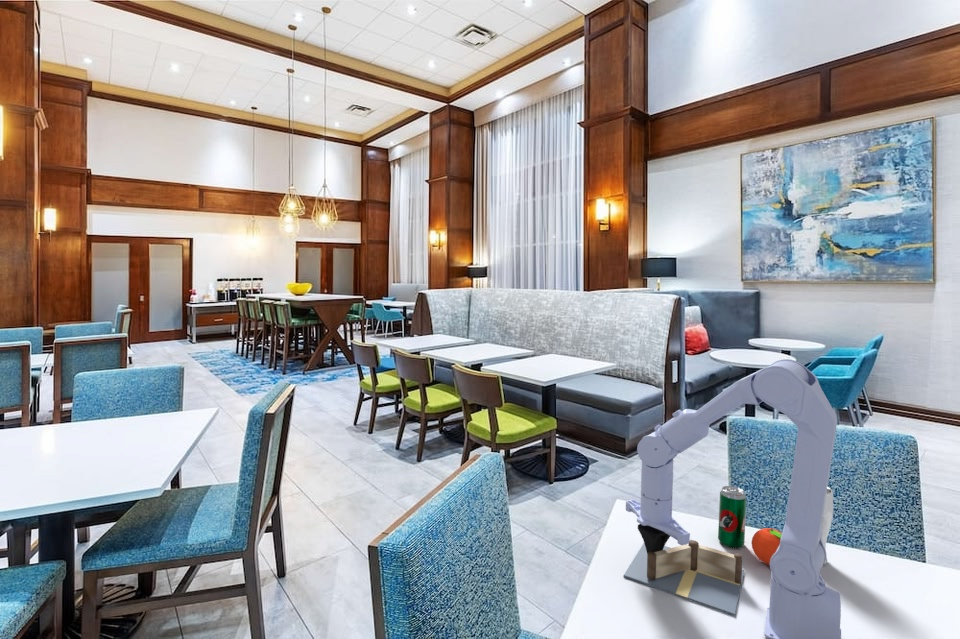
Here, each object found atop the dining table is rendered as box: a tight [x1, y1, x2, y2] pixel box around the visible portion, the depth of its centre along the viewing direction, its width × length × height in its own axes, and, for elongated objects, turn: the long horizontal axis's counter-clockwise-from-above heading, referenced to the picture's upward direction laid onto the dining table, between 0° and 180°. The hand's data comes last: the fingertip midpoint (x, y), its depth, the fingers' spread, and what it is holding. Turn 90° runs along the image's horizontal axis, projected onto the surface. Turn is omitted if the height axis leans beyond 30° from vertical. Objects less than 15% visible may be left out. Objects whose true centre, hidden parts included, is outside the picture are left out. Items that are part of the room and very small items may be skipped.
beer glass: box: [822, 486, 834, 567], centre depth 97 cm, size 7×7×15 cm
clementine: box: [751, 527, 782, 566], centre depth 95 cm, size 8×7×7 cm
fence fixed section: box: [687, 539, 744, 585], centre depth 91 cm, size 9×2×5 cm, turn 55°
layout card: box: [623, 542, 745, 617], centre depth 92 cm, size 19×15×1 cm
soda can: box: [717, 485, 747, 549], centre depth 103 cm, size 5×5×12 cm
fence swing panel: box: [647, 544, 691, 580], centre depth 91 cm, size 10×2×5 cm, turn 111°
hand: (654, 561), depth 92 cm, fingers closed
